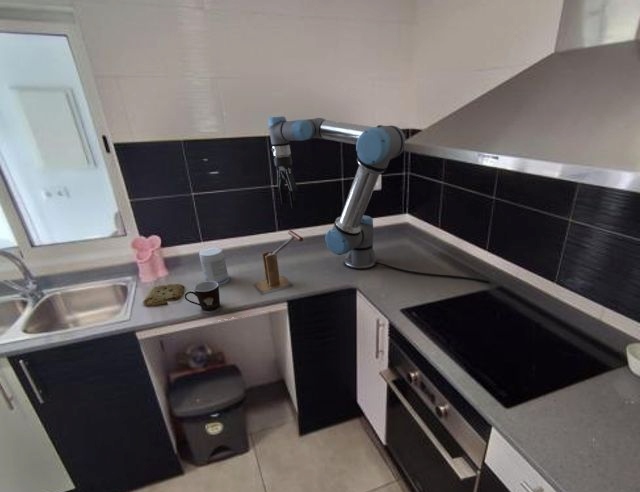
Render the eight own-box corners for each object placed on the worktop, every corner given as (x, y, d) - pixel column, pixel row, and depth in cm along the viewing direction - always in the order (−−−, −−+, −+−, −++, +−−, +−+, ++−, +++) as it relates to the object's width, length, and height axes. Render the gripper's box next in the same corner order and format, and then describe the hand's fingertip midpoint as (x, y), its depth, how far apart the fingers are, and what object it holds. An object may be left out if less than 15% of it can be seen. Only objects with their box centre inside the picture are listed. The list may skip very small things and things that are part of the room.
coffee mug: (226, 304, 148) (222, 281, 143) (217, 315, 141) (212, 292, 136) (198, 303, 149) (192, 280, 144) (187, 314, 142) (181, 290, 137)
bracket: (283, 278, 169) (279, 246, 162) (292, 286, 161) (288, 254, 154) (254, 285, 163) (249, 252, 156) (262, 294, 155) (257, 260, 148)
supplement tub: (231, 277, 169) (225, 246, 162) (226, 287, 161) (219, 255, 154) (209, 278, 169) (203, 247, 162) (203, 288, 161) (195, 255, 154)
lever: (293, 232, 163) (290, 228, 161) (304, 240, 155) (301, 235, 153) (264, 257, 160) (260, 253, 159) (273, 266, 152) (270, 262, 151)
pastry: (172, 283, 165) (170, 277, 163) (197, 294, 156) (195, 287, 154) (133, 299, 152) (130, 293, 151) (157, 312, 143) (155, 305, 142)
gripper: (265, 156, 173) (273, 203, 182) (283, 158, 153) (291, 211, 162) (281, 154, 176) (288, 200, 185) (300, 156, 156) (307, 208, 165)
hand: (289, 205), depth 173 cm, fingers open, 13 cm apart
